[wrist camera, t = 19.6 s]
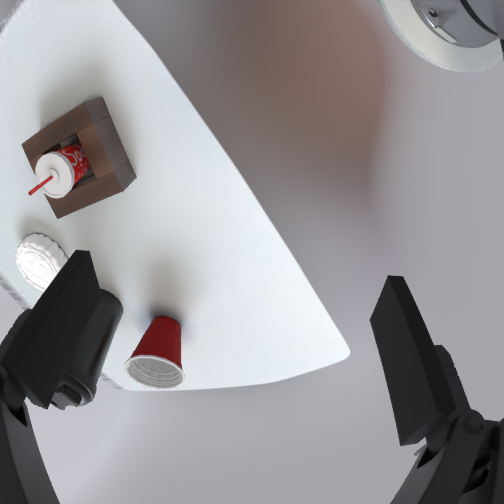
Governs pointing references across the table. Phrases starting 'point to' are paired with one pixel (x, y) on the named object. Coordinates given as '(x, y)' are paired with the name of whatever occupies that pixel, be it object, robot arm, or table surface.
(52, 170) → the beverage cup
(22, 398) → the robot arm
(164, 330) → the plastic cup
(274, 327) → the table surface
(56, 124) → the holder
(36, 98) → the table surface
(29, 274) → the mooncake
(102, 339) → the water bottle
